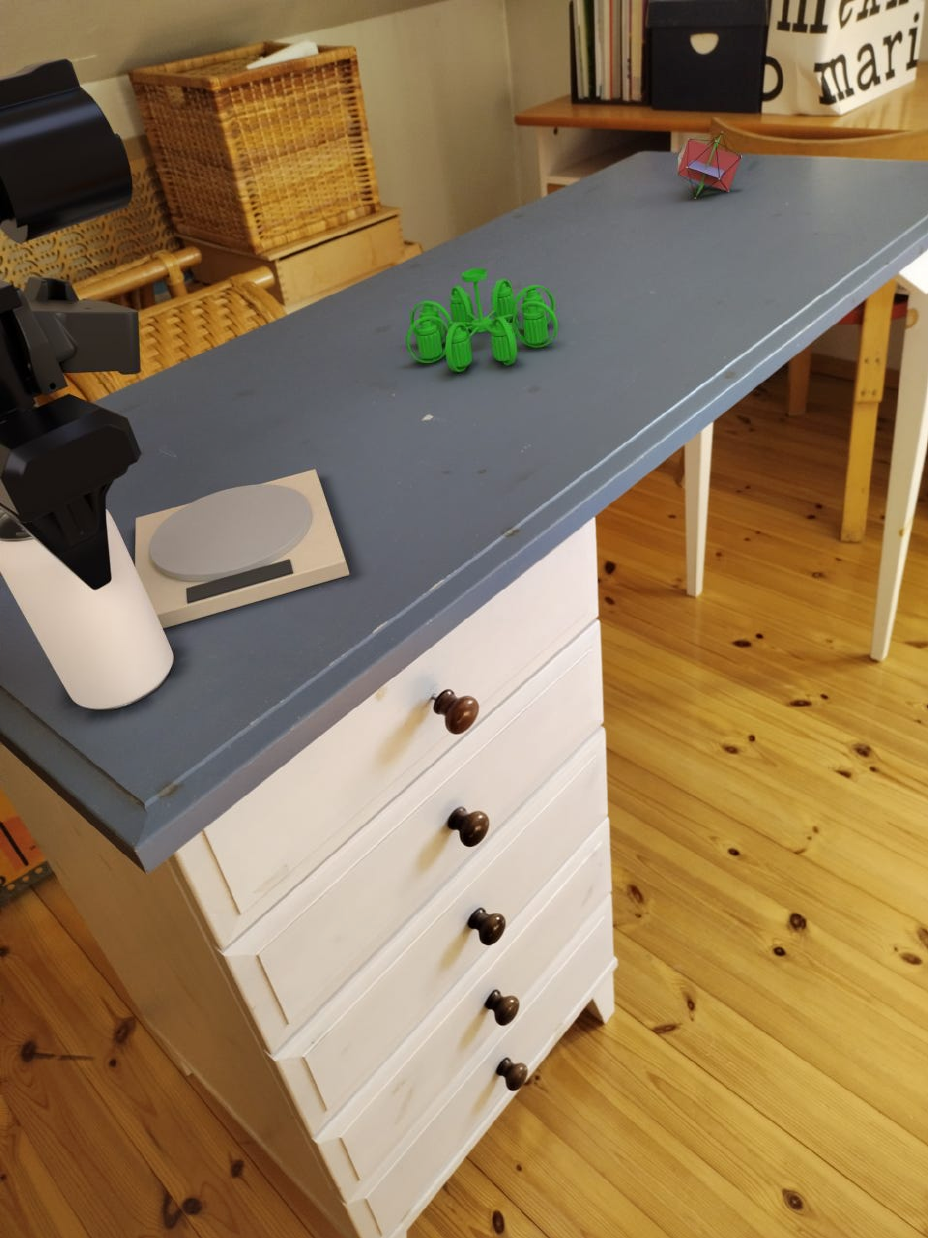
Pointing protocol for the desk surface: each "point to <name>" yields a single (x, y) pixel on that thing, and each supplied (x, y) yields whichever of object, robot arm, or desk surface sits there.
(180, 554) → the scale
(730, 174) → the geometric puzzle
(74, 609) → the can
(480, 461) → the desk surface
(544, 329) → the chandelier
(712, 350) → the desk surface
